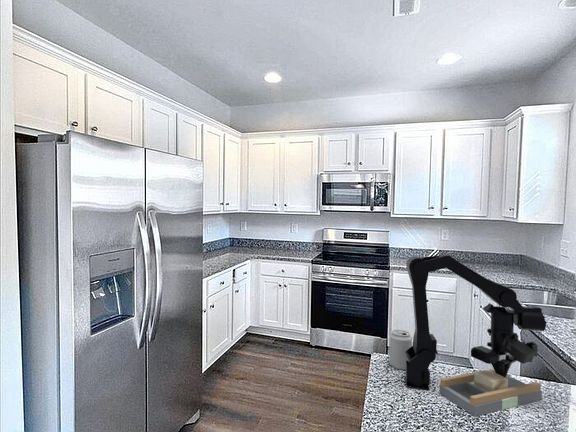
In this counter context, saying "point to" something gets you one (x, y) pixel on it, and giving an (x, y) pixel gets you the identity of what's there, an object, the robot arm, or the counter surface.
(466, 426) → the counter surface
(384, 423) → the counter surface
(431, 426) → the counter surface
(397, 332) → the can
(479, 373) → the maple block
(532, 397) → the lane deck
